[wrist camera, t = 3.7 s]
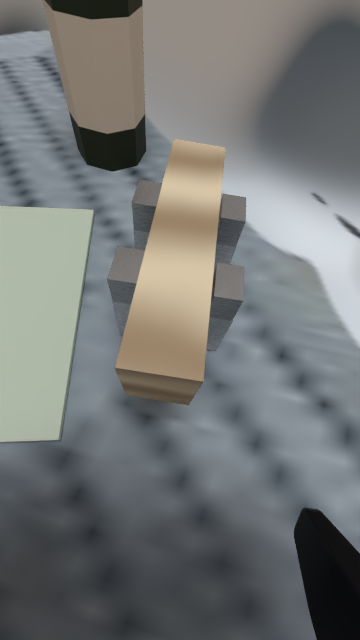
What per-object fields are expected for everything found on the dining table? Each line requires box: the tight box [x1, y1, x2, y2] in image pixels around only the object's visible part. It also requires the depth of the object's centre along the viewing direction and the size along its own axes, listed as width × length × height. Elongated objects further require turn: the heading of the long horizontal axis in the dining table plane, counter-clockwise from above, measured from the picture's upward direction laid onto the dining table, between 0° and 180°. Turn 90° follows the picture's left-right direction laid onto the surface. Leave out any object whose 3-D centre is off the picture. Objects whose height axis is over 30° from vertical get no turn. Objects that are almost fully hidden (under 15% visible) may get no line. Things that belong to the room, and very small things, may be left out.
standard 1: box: [132, 180, 246, 271], centre depth 23 cm, size 2×8×8 cm, turn 82°
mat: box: [0, 206, 94, 442], centre depth 23 cm, size 22×10×1 cm, turn 2°
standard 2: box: [107, 246, 244, 351], centre depth 20 cm, size 2×8×8 cm, turn 82°
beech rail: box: [115, 139, 225, 405], centre depth 17 cm, size 16×4×5 cm, turn 172°
